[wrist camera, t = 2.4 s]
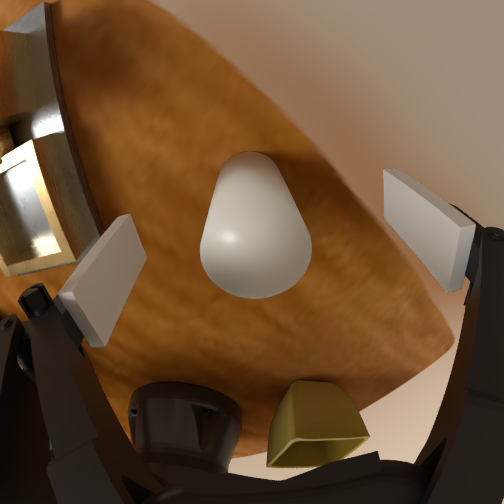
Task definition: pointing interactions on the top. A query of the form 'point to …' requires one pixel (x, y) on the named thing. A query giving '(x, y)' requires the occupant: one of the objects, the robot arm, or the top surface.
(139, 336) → the top surface
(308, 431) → the flower pot
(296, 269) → the white rounded cylinder
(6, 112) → the red push button box
